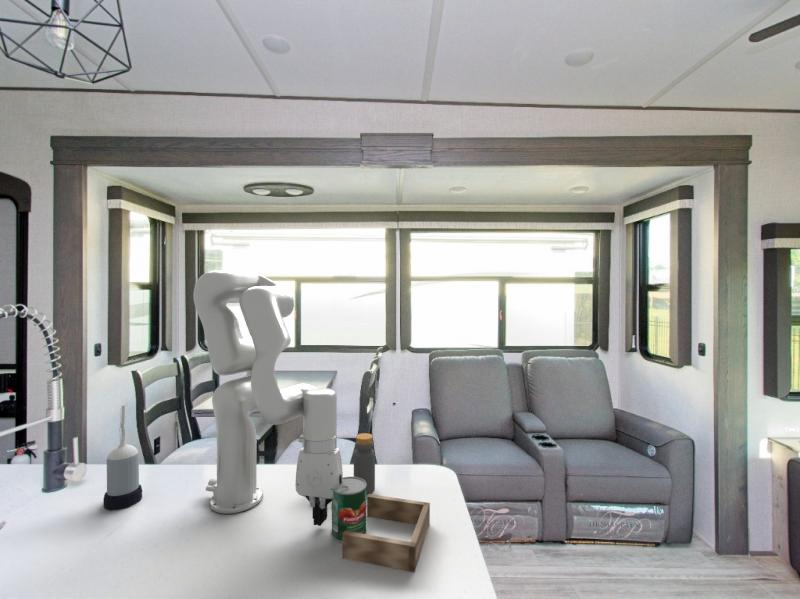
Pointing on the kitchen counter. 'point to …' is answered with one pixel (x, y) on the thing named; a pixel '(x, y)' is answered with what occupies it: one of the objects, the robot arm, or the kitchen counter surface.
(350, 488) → the canned tomato
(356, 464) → the bottle
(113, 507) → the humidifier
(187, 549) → the kitchen counter surface
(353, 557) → the box
